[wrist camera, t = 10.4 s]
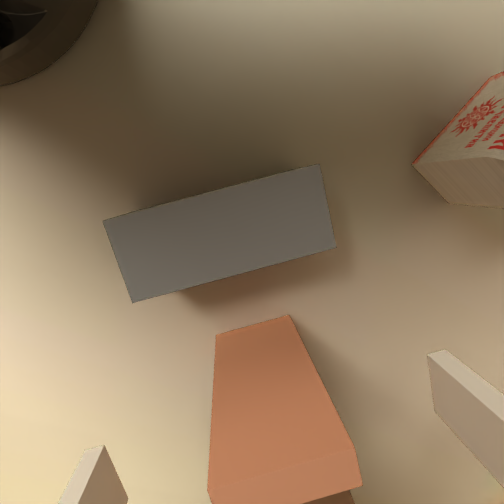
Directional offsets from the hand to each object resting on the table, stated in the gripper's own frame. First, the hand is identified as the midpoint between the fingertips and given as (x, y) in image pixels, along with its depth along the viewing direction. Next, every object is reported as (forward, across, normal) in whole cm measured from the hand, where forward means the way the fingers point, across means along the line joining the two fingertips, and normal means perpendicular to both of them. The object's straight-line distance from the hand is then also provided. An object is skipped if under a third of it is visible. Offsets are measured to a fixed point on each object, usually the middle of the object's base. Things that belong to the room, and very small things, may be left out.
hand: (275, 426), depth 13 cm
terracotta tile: (+9, 0, -1) cm, 9 cm away
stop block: (+9, 0, +7) cm, 11 cm away
